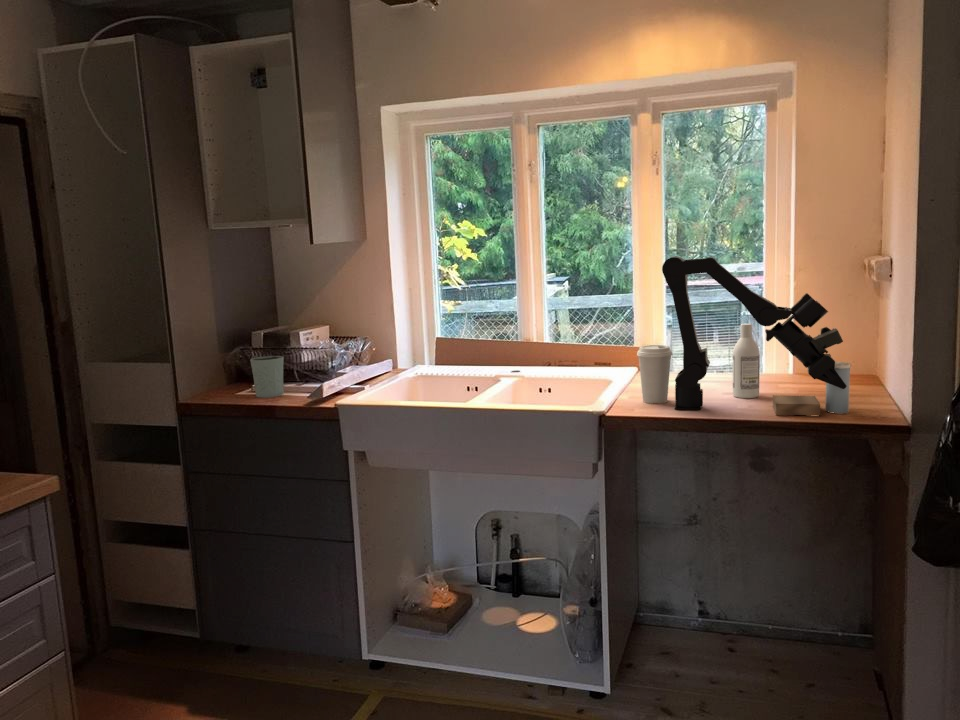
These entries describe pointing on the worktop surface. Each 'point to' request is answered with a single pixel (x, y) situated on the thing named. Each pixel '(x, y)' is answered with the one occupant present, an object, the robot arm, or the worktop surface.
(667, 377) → the coffee cup
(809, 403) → the base block
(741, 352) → the bath foam
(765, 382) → the worktop surface
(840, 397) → the canister
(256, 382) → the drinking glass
